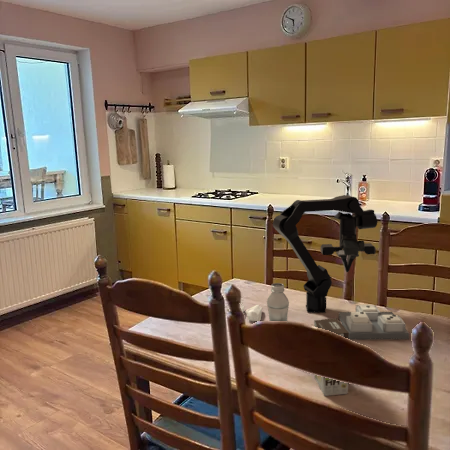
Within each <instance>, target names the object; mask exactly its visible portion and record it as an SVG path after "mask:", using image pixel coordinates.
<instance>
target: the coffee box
mask: <svg viewBox="0 0 450 450" xmlns="http://www.w3.org/2000/svg"><path fill="white" fill-rule="evenodd" d="M338 319H339V318H324V319H316V320H314V321H313V327H314V326H315V327H318V328H322V329H325V330H329V331H331V332H334V333H336V334H338V335H341V336H343V337H345V338H348V339H349V332H348V331H347V330H346V329H345V328H344V326H343V325H342V323H341V321H340V320H338ZM313 377H314V379H315V381H316V384H317V385H318V387H319V389H320V390H321V392H322V394H323V396H325V397H328V396H335V395H336V396H337V395H347V394H348V393H349V382H348V383H344V382H340V381H336V380H333V379H329V378H325V377H321V376H317V375H315V374H314V375H313Z"/></svg>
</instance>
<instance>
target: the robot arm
mask: <svg viewBox="0 0 450 450" xmlns="http://www.w3.org/2000/svg"><path fill="white" fill-rule="evenodd" d="M327 211H336V212H337V213H336V214H335V215H334V216H333V218H334V219H336V220H339V243H338V244H339V246H334V245H332V243H328V244H327V243H326V244H324V243H323V244H321V245H320V253H321V254H322V255H323V256H332V255H334V253H335V254H336V255H337V257H339V258H341V262H342V265H343V267H344V270H345V272H346V273H349V271H350V269H351V267H352V265H353V262H354V260H355V259H356V258H357V257H359V256H360V255H359V253H360V252H364V253H365V254H366V255H375V254H376V252H377V251H376V249H377V248H376V247H375V246H374V245H373V244H372V243H371V242H369V243H367V242H365V241H364V240H358V239H357V229H359V230H366V229H375V228H376V227H377V226H378V222H379V221H378V218H377V215H376V214H375V210H374V209H366V210H364V209H363V208H362V206H361V205H360V201H359V199H358V197H355V196H351V195H346V194H342V195H339V196H338V195H337V196H335V197H333V198H329V199H328V198H324V199H305V200H302V199H297V200H295V201H293V203H291V204H290V206H288V207H286V209H284V210H283V211H282V212H281V213H280V214H279V215H277V216H275V217H274V218H273V220H272V227H273V228H274V229H275V230H276V231H277V233H279V235H280V236H282V237H283V238H284V239H285V240H286V241H287V243H288V244H289V246H290V247H291V249H292V250H293V252H294V253H295V255H296V257H297V258H298V260H299V261H300V262H301V264H302V265H303V267H304V269H305V271H306V275H307V278H308V280H307V281H306V282H305V283H304V284H303V289H304V291H305V292H306V294H305V295H306V299H305V301H306V302H305V303H306V304H305V309H306V312H307V313H309V314H311V313H313V314H315V313H316V314H317V313H326V310H327V296H328V294H329V293H328V292H329V290H330V288H331V287H332V284H333V282H332V276H331V275H330V274H329V271H328V270H327V268H325V267H323V266H322V265H320V264H317V263H316V262H315V260H314V258H313V257H312V255H311V253H310V252H309V250H308V249H307V247H306V245H305V244H304V243H303V241H302V239H301V238H300V235H299V231H298V227H297V225H298V223H300V221H301V219H302V217H303V215H305V213H307V212H309V213H310V212H327ZM352 214H353V215H352Z"/></svg>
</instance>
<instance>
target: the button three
mask: <svg viewBox="0 0 450 450" xmlns="http://www.w3.org/2000/svg"><path fill="white" fill-rule="evenodd" d="M382 319H383V320H384V321H385V323H401V320H400V319H399V317H398V316H397V314H394V315H382Z"/></svg>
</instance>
